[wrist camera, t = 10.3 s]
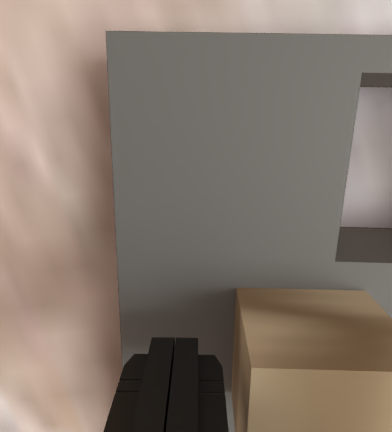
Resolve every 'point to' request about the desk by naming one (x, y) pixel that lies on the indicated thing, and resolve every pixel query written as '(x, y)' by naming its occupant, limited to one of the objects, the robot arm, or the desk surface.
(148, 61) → the plate
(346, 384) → the block
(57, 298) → the desk surface
